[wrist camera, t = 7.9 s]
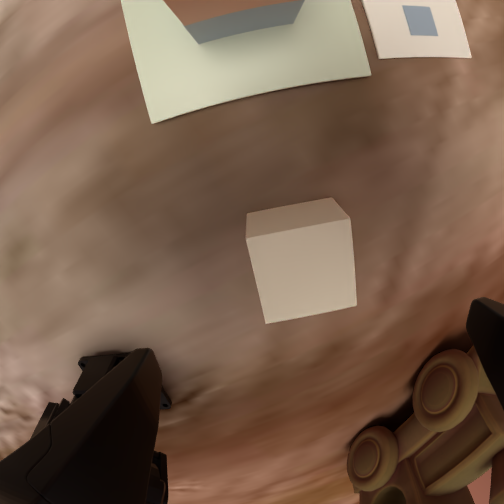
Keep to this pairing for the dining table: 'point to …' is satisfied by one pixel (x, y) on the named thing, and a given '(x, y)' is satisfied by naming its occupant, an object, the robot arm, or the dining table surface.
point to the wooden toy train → (435, 440)
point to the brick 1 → (212, 8)
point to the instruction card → (416, 28)
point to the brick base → (245, 21)
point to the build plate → (239, 56)
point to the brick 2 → (302, 259)
